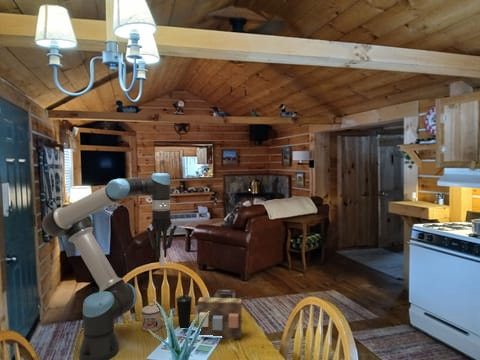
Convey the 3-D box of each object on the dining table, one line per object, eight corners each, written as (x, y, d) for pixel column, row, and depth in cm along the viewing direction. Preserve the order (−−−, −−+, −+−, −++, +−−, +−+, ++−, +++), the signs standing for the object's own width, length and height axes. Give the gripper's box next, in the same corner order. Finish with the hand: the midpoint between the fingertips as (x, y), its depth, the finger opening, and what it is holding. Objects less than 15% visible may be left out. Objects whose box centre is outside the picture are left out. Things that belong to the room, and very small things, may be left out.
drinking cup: (188, 321, 173) (188, 281, 172) (195, 327, 166) (194, 286, 165) (173, 325, 169) (173, 284, 168) (179, 332, 162) (179, 289, 161)
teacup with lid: (139, 332, 162) (139, 307, 161) (143, 323, 171) (143, 300, 170) (166, 331, 162) (166, 306, 162) (168, 323, 172) (168, 299, 171)
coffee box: (236, 322, 172) (236, 289, 171) (233, 328, 166) (232, 294, 165) (218, 320, 174) (218, 288, 173) (214, 326, 168) (214, 293, 167)
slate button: (212, 330, 150) (212, 318, 150) (215, 321, 158) (215, 310, 158) (221, 330, 150) (221, 318, 150) (224, 322, 158) (224, 311, 158)
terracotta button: (228, 327, 152) (228, 316, 152) (230, 319, 160) (230, 308, 160) (237, 328, 152) (237, 316, 152) (239, 319, 160) (239, 309, 160)
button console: (198, 337, 157) (198, 300, 156) (201, 331, 163) (200, 295, 162) (240, 339, 155) (240, 302, 154) (241, 332, 161) (241, 297, 161)
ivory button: (198, 326, 153) (198, 315, 153) (202, 318, 161) (202, 307, 161) (208, 326, 153) (207, 315, 153) (211, 318, 161) (211, 308, 161)
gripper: (147, 211, 143) (147, 269, 144) (178, 209, 148) (179, 265, 149) (144, 209, 149) (144, 264, 150) (174, 207, 155) (174, 261, 156)
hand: (161, 264), depth 150 cm, fingers closed
